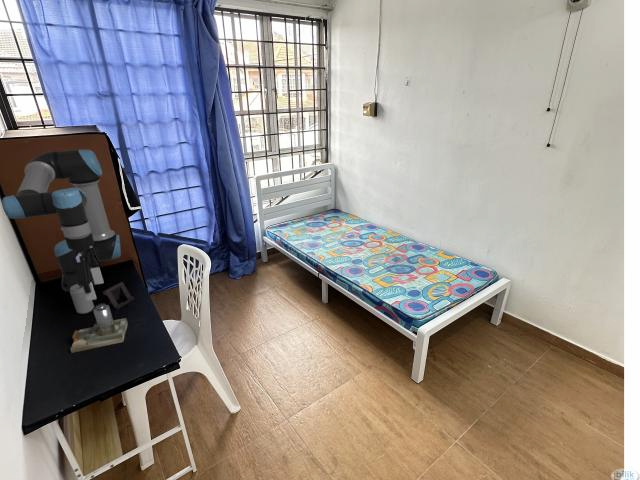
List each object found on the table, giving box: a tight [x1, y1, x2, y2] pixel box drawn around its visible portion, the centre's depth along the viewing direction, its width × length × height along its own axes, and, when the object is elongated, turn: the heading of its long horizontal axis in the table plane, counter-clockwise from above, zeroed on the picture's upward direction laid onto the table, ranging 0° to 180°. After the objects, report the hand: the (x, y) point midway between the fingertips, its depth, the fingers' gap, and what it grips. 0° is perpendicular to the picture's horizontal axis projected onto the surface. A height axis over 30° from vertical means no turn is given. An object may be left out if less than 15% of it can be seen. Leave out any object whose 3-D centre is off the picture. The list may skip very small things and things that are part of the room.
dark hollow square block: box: [102, 281, 135, 311], centre depth 147 cm, size 9×8×8 cm
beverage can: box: [69, 284, 95, 315], centre depth 141 cm, size 6×6×12 cm
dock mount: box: [70, 318, 129, 354], centre depth 126 cm, size 12×16×4 cm
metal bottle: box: [92, 302, 116, 336], centre depth 125 cm, size 5×5×12 cm
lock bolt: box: [72, 329, 92, 343], centre depth 124 cm, size 4×5×2 cm
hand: (95, 291), depth 120 cm, fingers open, 11 cm apart
